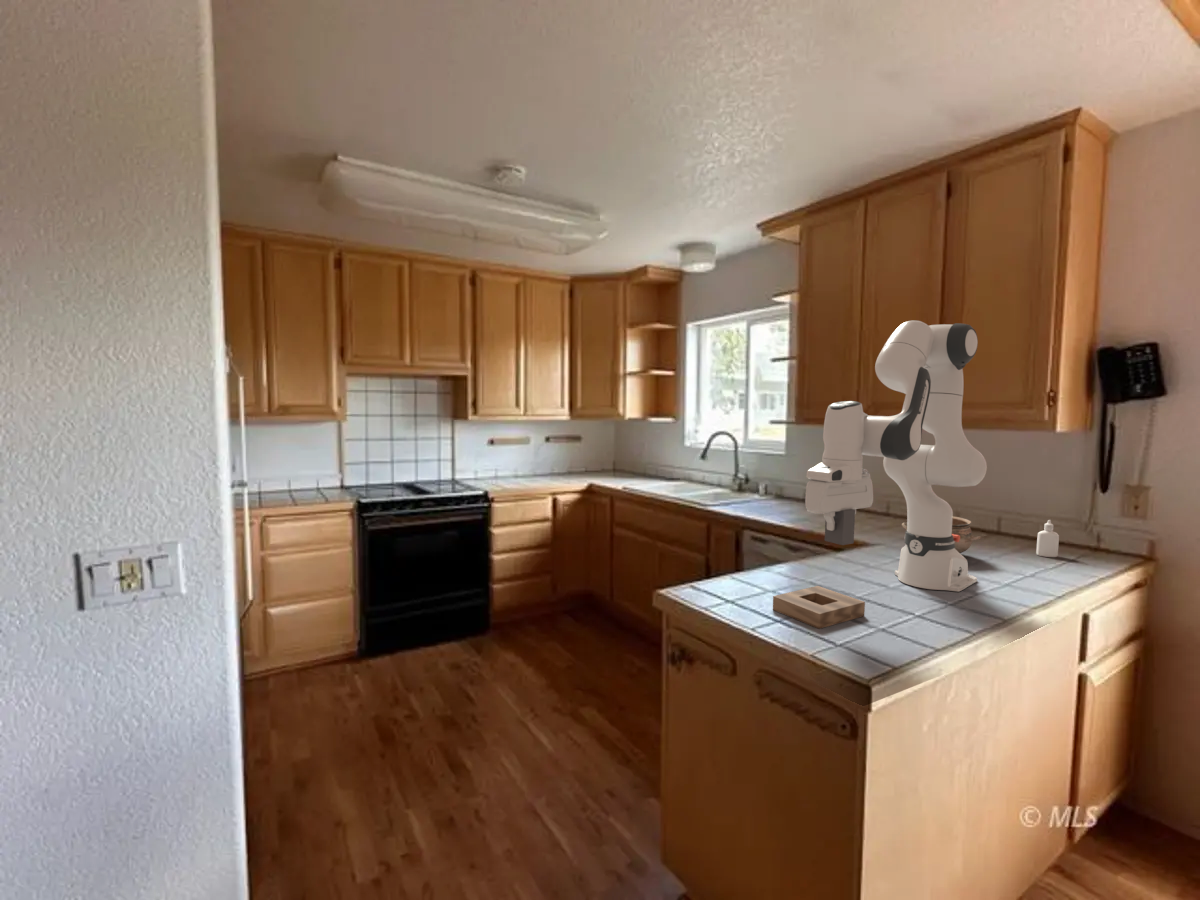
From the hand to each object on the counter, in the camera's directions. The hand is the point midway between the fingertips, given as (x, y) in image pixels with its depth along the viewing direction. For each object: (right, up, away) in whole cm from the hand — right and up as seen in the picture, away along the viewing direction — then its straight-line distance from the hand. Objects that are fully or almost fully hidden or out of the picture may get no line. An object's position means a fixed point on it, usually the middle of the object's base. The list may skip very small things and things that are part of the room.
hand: (839, 528), depth 143 cm
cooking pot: (+55, -17, +57) cm, 81 cm away
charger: (0, -3, 0) cm, 3 cm away
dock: (-3, -21, +5) cm, 22 cm away
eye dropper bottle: (+91, -17, +57) cm, 109 cm away
